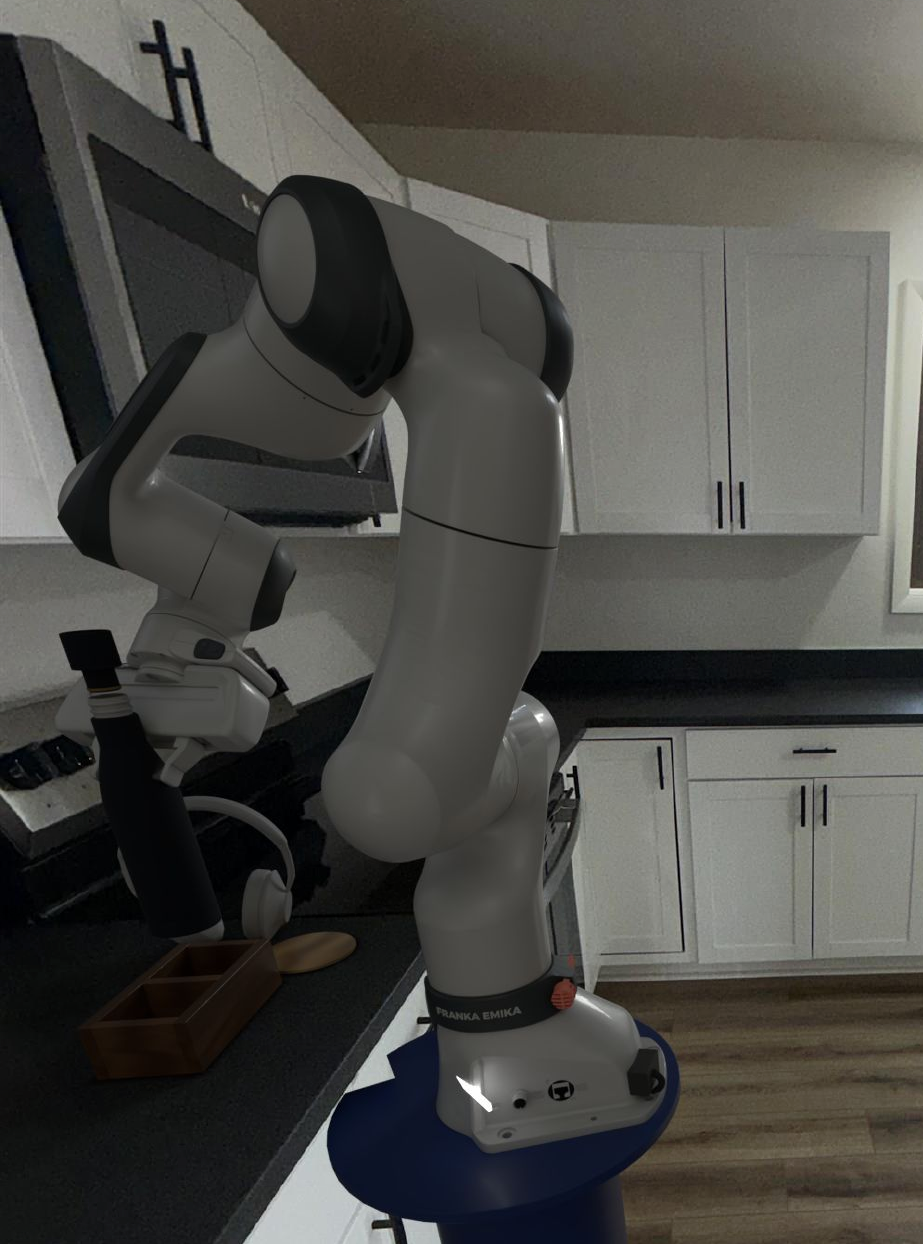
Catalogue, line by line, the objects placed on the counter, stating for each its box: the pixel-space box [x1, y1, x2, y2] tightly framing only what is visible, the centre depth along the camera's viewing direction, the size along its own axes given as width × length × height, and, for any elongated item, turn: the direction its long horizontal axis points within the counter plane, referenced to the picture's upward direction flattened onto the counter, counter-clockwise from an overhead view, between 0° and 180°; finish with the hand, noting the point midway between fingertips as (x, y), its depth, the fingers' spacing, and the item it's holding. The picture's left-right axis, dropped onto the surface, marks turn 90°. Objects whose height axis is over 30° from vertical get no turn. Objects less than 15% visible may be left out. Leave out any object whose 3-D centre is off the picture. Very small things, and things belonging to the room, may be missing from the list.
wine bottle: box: [58, 628, 223, 939], centre depth 85 cm, size 6×6×30 cm
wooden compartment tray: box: [76, 938, 283, 1081], centre depth 93 cm, size 10×19×6 cm, turn 7°
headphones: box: [116, 795, 296, 944], centre depth 108 cm, size 19×9×20 cm, turn 108°
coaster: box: [272, 931, 357, 975], centre depth 110 cm, size 11×11×1 cm
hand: (134, 782), depth 84 cm, fingers closed on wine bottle, 5 cm apart
